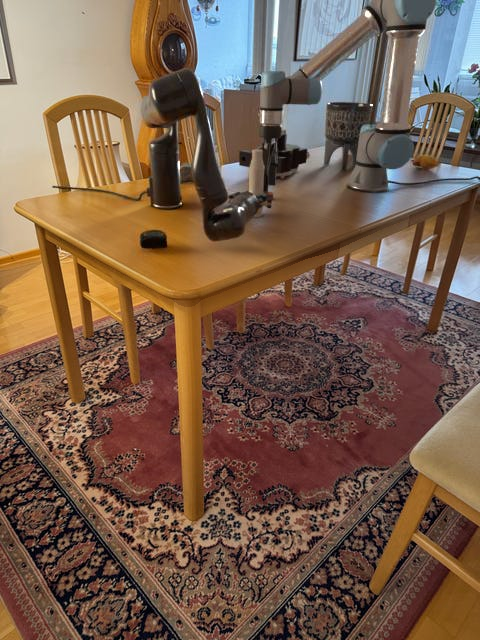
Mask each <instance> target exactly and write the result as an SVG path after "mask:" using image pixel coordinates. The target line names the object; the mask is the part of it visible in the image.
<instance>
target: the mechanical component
mask: <svg viewBox="0 0 480 640" xmlns="http://www.w3.org/2000/svg"><path fill="white" fill-rule="evenodd" d="M287 138H288V129H287V128H286V127H282V136H281V137H280V138H277V158H278V163H279V166H275V167H276V177H279V178H280V179H285V176H291V175H292V173H298V171H299V167H300V165H303V164H304V165H305V164H307V160H309V158H310V156H311V154H310V152H309V151H308V148H304V147H301V146H299V145H297V144H290V143H287ZM263 143H265V138H263ZM256 149H260V150H262V145H261V146H258V147H257V148H256ZM238 154H239V155H238V157H239V159H238V166H240V167H245V168H250V163H251V160H252V150H251V151H250V150H245V149H241V150H239V153H238Z"/></svg>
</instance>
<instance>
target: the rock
mask: <svg viewBox="0 0 480 640" xmlns="http://www.w3.org/2000/svg"><path fill="white" fill-rule="evenodd" d="M179 167H180V184H187V183H194V182H193V179H192V172H191V168H192V163H189V162H186V161H184V162H183V163H182V164H181V165H179Z"/></svg>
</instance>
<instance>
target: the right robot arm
mask: <svg viewBox="0 0 480 640" xmlns="http://www.w3.org/2000/svg"><path fill="white" fill-rule="evenodd" d="M436 5H437V0H371V1H370V2H369V3H368V4H367V5H366V6H365V7H364V8H363V9H362V10H361V11H360V15H359V16H358V17H357V18H355V20H354V21H352V22H351V23H350V24H349V25H347V27H346V28H344V29H343V30H342V31H341V32H339V33H338V34H337V35H336V36H335V37H334V38H333V39H332V40H330V42H328V43H327V44H326V45H325V46H324V47H322V48H321V49H319V51H318V52H317V53H316V54H314V55H313V56H312V57H310V59H308V60H307V61H306V62H305V63H304V64H303V65H301V66H300V67H299V68H298V70H296V71H295V72H294V73H292V74H291V75H289V76H286V72H285V71H283V70H264V71H263V72H262V73H261V77H260V78H261V79H260V86H259V88H260V92H259V93H260V95H259V100H260V101H259V109H260V110H259V112H258V113H257V115H258V116H259V123H260V124H259V126H258V136H259V138H261V139H264V138H265V143H264V142H262V143H261V146H262V150H263V154H262V160H263V164H264V186H263V193H264V192H265V191H267V193H268V192H269V186H273V187H274V186H276V182H277V181H276V180H277V179H276V178H277V176H276V167H275V166H279V163H278V158H277V138H280V137H281V136H282V128H283V126H282V125H281V124H283V122H284V105H297V106H298V105H301V106H302V105H304V106H306V105H308V106H311V105H313V106H314V105H318V104H319V103H320V102H321V100H322V94H323V83H322V80H323V79H324V78H326V77H327V76H328V75H329V74H331V73H332V72H333V71H334V70H335V69H336V68H337V67H339V66H340V65H341V64H342V63H344V62H345V61H346V60H347V59H348V58H349V57H351V56H352V55H353V54H354V53H355V52H356V51H357V50H359V49H360V48H361V47H362V46H363V45H365V44H366V43H367V42H369V40H371V39H372V38H373V37H375V38H378V37H379V36H380V35H381V34H382V33H384V32H385V34H386V35H387V37H388V38H389V45H388V52H387V54H388V55H387V62H386V70H385V71H386V72H385V79H384V87H383V88H384V89H383V98H382V105H381V106H382V107H381V115H380V120H379V122H378V123H377V124H369V125H363V126H362V127H361V131H360V134H359V143H358V151H357V158H356V165H355V166H354V167H353V171H351V174H350V176H349V179H348V182H347V187H348V188H349V189H351V190H354V191H358V192H363V193H364V192H365V193H382V192H386V191H388V189H389V184H393V185H400V186H416V185H423V184H424V185H426V184H430V183H435V182H443V181H444V182H446V181H471V180H475V179H478V181H480V176H479V175H477V176H476V175H475V176H472V177H466V178H465V177H463V178H462V177H451V178H449V177H448V178H437V179H430V180H426V181H425V180H424V181H419V182H398V181H393V180H389V178H388V173H387V172H388V171H387V170H398V169H400V168H402V167H404V166H405V165H406V164H408V162H409V161H411V158H412V156H413V154H414V149H415V146H414V142H413V140H412V138H411V137H410V136H411V131H412V130H411V129H412V126H411V124H410V123H409V122H408V118H409V110H410V103H411V96H412V90H413V82H414V77H415V76H414V75H415V68H416V63H417V62H416V61H417V54H418V47H419V40H420V37H421V36H422V35H423V34H424V33H425V32H426V28H427V21H428V19H429V18H430V16H431V15H433V12H434V11H435V8H436Z"/></svg>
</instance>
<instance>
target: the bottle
mask: <svg viewBox="0 0 480 640" xmlns="http://www.w3.org/2000/svg"><path fill="white" fill-rule="evenodd" d="M251 152H252V160H251V163H250V167H248V172H249V173H248V190H249V192H250V193H252V194H254V195H257V194H263V186H264V164H263V160H262V154H263V150H260V149H257V148H253V149H252V150H251ZM263 209H264V206H262V207H261V208H259V210H258V211H257V213H256V214H255V215H254V216H253V217H252V218H261V217H262V216H263Z"/></svg>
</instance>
